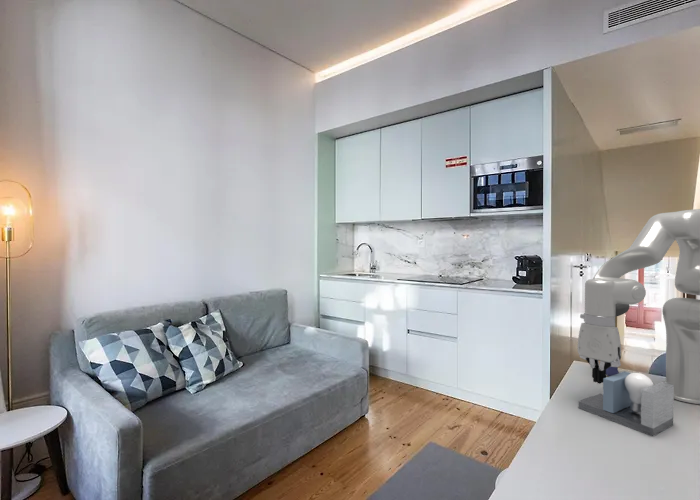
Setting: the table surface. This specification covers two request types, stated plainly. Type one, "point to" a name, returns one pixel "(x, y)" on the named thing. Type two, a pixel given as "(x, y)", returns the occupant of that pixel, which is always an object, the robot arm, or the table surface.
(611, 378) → the vise jaw
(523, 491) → the table surface
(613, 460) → the table surface
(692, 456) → the table surface
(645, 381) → the lightbulb
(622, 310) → the rubber mallet
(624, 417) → the vise base
